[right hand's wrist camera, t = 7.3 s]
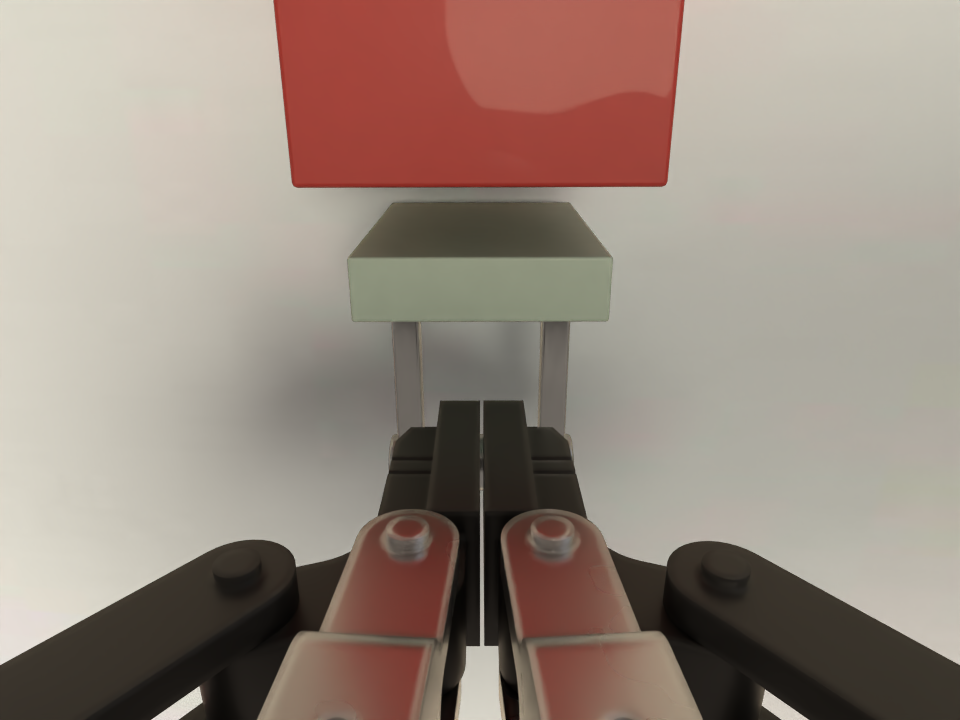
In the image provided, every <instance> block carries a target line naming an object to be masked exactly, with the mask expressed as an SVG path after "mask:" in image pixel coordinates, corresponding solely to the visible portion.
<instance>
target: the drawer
mask: <svg viewBox="0 0 960 720" xmlns="http://www.w3.org/2000/svg"><path fill="white" fill-rule="evenodd" d="M347 263H348V276H349V290H350V303H351V316H352V321H354V322H392V340H393V358H394V377H395V396H396V415H397V434H394V435H393V436H392V438H391V442H390V448H389V467H390V463H391V460H392V455H393V451H394V447H395V442H396V440H397V439H399V438H400V437H401V436H402V435H403V434H404V433H405V432H406V431H407V430H408V429H409V428H410V427H425V418H424V391H423V364H422V336H421V322H533V321H541V327H540V359H539V392H538V424H537V427H553V428H554V429H555V430H557V431H558V432H559V433H560V434H561V435H562V436H563V437H564V438H565V439H566V440H567V441H568V444H569V448H570V452H571V456H572V460H573V464H574V458H573V445H572V440H571V437H570V435H568V434H565V419H566V398H567V376H568V355H569V334H570V321H608V319H609V308H610V294H611V279H612V265H613V258H612V256H611V255H610V254H609V253H608V251H607V250H606V249H605V247H604V246H603V245H602V244H601V242H600V241H599V240H598V238H597V237H596V236H595V235H594V233H593V232H592V231H591V229H590V228H589V227H588V226H587V224H586V223H585V222H584V220H583V219H582V218H581V217H580V215H579V214H578V213H577V212H576V210H575V209H574V208H573V206H572V205H571V204H570V203H569V202H567V203H392V205H391V206H390V207H389V208H388V209H387V211H386V212H385V213H384V214H383V216H382V217H381V218H380V219H379V220H378V222H377V223H376V224H375V225H374V227H373V228H372V229H371V230H370V231H369V233H368V234H367V235H366V236H365V238H364V239H363V240H362V241H361V242H360V244H359V245H358V246H357V247H356V249H355V250H354V251H353V252H352V253H351V255H350V256H349V257H348V259H347ZM480 490H483V434H480Z"/></svg>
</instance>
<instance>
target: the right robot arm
mask: <svg viewBox="0 0 960 720" xmlns="http://www.w3.org/2000/svg"><path fill="white" fill-rule="evenodd" d="M483 528H484V646H498V647H499V701H500V709H501V717H502V720H781V719H780V718H778V717H777V716H775V715H774V714H773V713H771V712H770V711H768V710H767V709H766V708H764V707H763V706H762V701H763V696H764V691H765V689H766V690H767V691H769V692H770V693H771V694H773V695H774V696H776V697H777V698H779V699H780V700H781V701H783V702H784V703H786V704H787V705H789V706H790V707H792V708H793V709H794V710H796V711H797V712H799V713H800V714H802V715H803V716H804V717H806V718H807V719H809V720H960V665H958V664H957V663H955V662H953V661H951V660H949V659H947V658H946V657H944V656H942V655H940V654H938V653H936V652H935V651H933V650H931V649H929V648H927V647H925V646H924V645H922V644H920V643H918V642H916V641H914V640H913V639H911V638H909V637H907V636H905V635H903V634H902V633H900V632H898V631H896V630H894V629H892V628H891V627H889V626H887V625H885V624H883V623H881V622H880V621H878V620H876V619H874V618H872V617H870V616H869V615H867V614H865V613H863V612H861V611H859V610H858V609H856V608H854V607H852V606H850V605H848V604H847V603H845V602H843V601H841V600H839V599H837V598H836V597H834V596H832V595H830V594H828V593H827V592H825V591H823V590H821V589H819V588H817V587H816V586H814V585H812V584H810V583H808V582H806V581H805V580H803V579H801V578H799V577H797V576H795V575H794V574H792V573H790V572H788V571H786V570H784V569H783V568H781V567H779V566H777V565H775V564H773V563H772V562H770V561H768V560H766V559H764V558H762V557H761V556H759V555H757V554H755V553H753V552H751V551H749V550H747V549H744V548H741V547H739V546H736V545H732V544H728V543H722V542H714V541H700V542H693V543H689V544H686V545H683V546H681V547H679V548H678V549H676V550H675V551H674V552H673V553H672V554H671V555H670V557H669V559H668V562H667V567H666V566H662V565H657V564H652V563H648V562H643V561H639V560H635V559H631V558H628V557H626V556H623V555H621V554H619V553H616V552H614V551H613V550H611V549H609V548H608V547H607V545H606V543H605V540H604V538H603V535H602V533H601V532H600V530H599V529H598V528H597V527H596V526H595V525H594V524H593V523H592V522H591V521H589V520H587V516H586V512H585V508H584V504H583V500H582V496H581V492H580V488H579V484H578V480H577V476H576V474H575V468H574V464H573V460H572V456H571V452H570V448H569V444H568V441H567V440H566V439H565V438H564V437H563V436H562V435H561V434H560V433H559V432H558V431H557V430H555V429H554V428H553V427H527V424H526V417H525V410H524V403H523V401H484V402H483ZM466 646H480V401H440V407H439V415H438V422H437V427H410V428H409V429H408V430H407V431H406V432H405V433H404V434H403V435H402V436H401V437H400V438H399V439H397V440H396V442H395V447H394V451H393V455H392V460H391V463H390V467H389V474H388V476H387V480H386V484H385V488H384V492H383V497H382V501H381V505H380V509H379V513H378V517H376V518H374V519H373V520H371V521H369V522H368V523H367V524H366V525H365V526H364V527H363V528H362V529H361V530H360V532H359V533H358V535H357V538H356V540H355V543H354V545H353V548H352V550H351V552H349V553H347V554H345V555H342V556H340V557H337V558H334V559H331V560H327V561H323V562H318V563H314V564H309V565H304V566H300V567H296V564H295V559H294V557H293V555H292V553H291V552H290V551H289V550H288V549H287V548H285V547H284V546H282V545H280V544H278V543H275V542H271V541H265V540H244V541H238V542H233V543H229V544H226V545H223V546H220V547H217V548H215V549H213V550H211V551H209V552H207V553H205V554H203V555H201V556H199V557H198V558H196V559H194V560H192V561H190V562H188V563H187V564H185V565H183V566H181V567H179V568H177V569H176V570H174V571H172V572H170V573H168V574H166V575H165V576H163V577H161V578H159V579H157V580H155V581H154V582H152V583H150V584H148V585H146V586H144V587H143V588H141V589H139V590H137V591H135V592H134V593H132V594H130V595H128V596H126V597H124V598H123V599H121V600H119V601H117V602H115V603H113V604H112V605H110V606H108V607H106V608H104V609H102V610H101V611H99V612H97V613H95V614H93V615H91V616H90V617H88V618H86V619H84V620H82V621H80V622H79V623H77V624H75V625H73V626H71V627H69V628H68V629H66V630H64V631H62V632H60V633H58V634H57V635H55V636H53V637H51V638H49V639H47V640H46V641H44V642H42V643H40V644H38V645H36V646H35V647H33V648H31V649H29V650H27V651H25V652H24V653H22V654H20V655H18V656H16V657H15V658H13V659H11V660H9V661H7V662H5V663H4V664H2V665H0V720H151V719H153V718H154V717H156V716H157V715H158V714H160V713H161V712H163V711H164V710H166V709H167V708H168V707H170V706H171V705H173V704H174V703H176V702H177V701H179V700H180V699H181V698H183V697H184V696H186V695H187V694H189V693H190V692H191V691H193V690H194V689H196V688H197V687H199V686H200V690H201V695H202V700H203V703H201V704H200V705H199V706H197V707H196V708H194V709H193V710H192V711H190V712H189V713H187V714H186V715H185V716H183V717H182V718H181V719H179V720H458V717H459V709H460V701H461V678H462V676H463V673H464V671H465V665H466Z"/></svg>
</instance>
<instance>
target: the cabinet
mask: <svg viewBox="0 0 960 720" xmlns="http://www.w3.org/2000/svg"><path fill="white" fill-rule="evenodd" d="M274 10H275V20H276V30H277V40H278V50H279V60H280V69H281V79H282V89H283V99H284V109H285V119H286V129H287V138H288V148H289V158H290V168H291V178H292V184H293V186H295V187H297V188H363V187H662V186H665V185H666V183H667V180H668V169H669V159H670V148H671V138H672V127H673V116H674V106H675V95H676V85H677V74H678V64H679V53H680V43H681V32H682V21H683V11H684V0H274Z"/></svg>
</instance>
